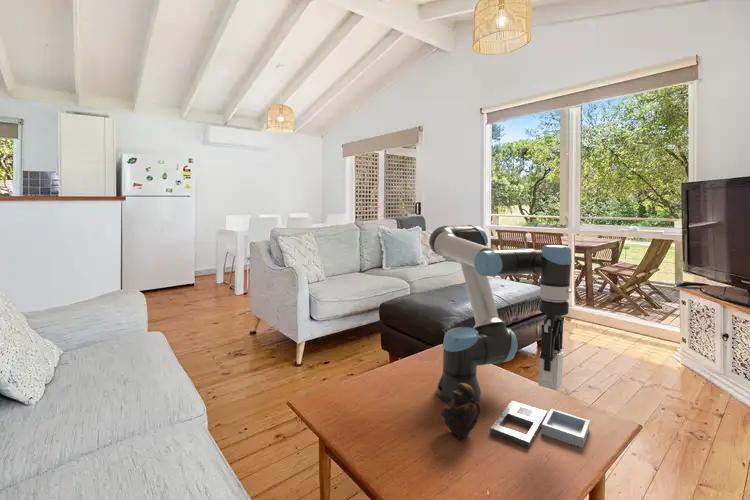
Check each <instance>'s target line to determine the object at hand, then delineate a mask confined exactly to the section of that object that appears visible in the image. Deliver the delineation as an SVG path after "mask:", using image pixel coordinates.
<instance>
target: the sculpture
mask: <svg viewBox="0 0 750 500" xmlns="http://www.w3.org/2000/svg"><path fill="white" fill-rule="evenodd" d="M457 387H458V389H457V390H456V391H453V392H452V394H453V399H452V400H451V401H450V402H449V403H447V405H445V406H444V407H442V409H441V411H440V416H441V417H442V418H443V419H444V423H445V426H446V427H448V429H449V430H450V432H451V434H453V435H456V436H457V439H458V440H459V441H464V440H465V439H466V438H467V437H468V436H469V435H470V432H471V431H472V430H473V429H474V427H475V426H476V425H477V423H478V419H480V415H481V413H482V412H481V410H482V409H481V405H480V404H479V401H478V402H475V401H474V400H473V396H474V391H473V389H472V387H471V386H470V385H468V384H465V383H458V385H457Z"/></svg>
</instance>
